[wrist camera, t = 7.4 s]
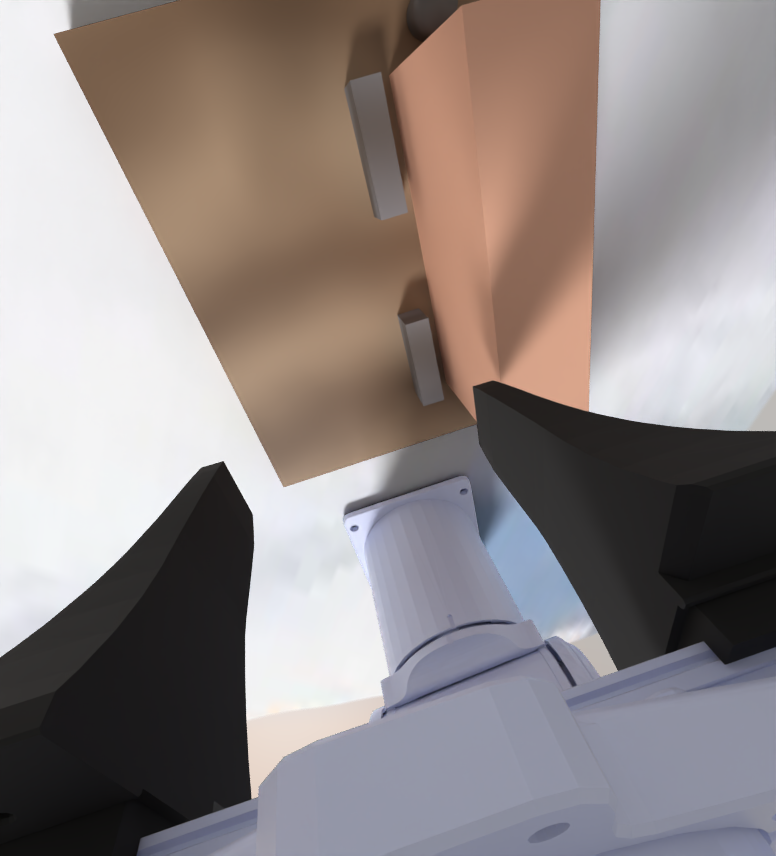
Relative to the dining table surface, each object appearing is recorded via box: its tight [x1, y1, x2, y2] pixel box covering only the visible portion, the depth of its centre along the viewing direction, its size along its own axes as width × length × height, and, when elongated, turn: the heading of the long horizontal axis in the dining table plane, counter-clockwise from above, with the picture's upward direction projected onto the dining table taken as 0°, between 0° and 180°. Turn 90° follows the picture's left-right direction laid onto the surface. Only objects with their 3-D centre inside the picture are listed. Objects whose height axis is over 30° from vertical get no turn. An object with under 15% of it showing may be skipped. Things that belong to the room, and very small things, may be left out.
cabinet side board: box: [54, 0, 479, 487], centre depth 17 cm, size 18×16×3 cm
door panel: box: [389, 0, 600, 422], centre depth 15 cm, size 12×3×7 cm, turn 14°
